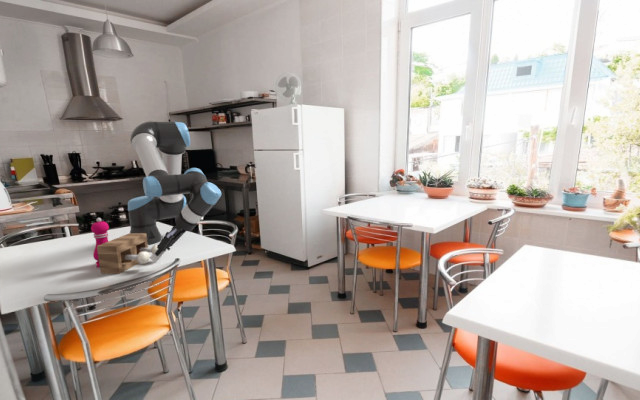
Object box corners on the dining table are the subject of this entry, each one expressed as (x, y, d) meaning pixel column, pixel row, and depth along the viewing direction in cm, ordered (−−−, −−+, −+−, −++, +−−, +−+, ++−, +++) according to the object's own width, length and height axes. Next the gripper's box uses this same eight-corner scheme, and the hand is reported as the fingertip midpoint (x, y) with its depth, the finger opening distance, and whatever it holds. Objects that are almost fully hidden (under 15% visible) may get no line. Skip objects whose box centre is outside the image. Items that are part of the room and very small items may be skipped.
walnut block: (132, 257, 143) (129, 233, 141) (149, 257, 142) (146, 233, 140) (100, 273, 125) (96, 246, 123) (119, 273, 124) (116, 246, 122)
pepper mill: (119, 261, 138) (113, 215, 134) (107, 268, 131) (100, 219, 127) (104, 261, 139) (97, 216, 135) (90, 267, 131) (83, 220, 128)
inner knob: (145, 253, 139) (144, 243, 139) (163, 253, 138) (162, 243, 138) (138, 257, 135) (136, 246, 134) (156, 257, 134) (155, 246, 133)
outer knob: (131, 260, 130) (129, 249, 130) (150, 260, 130) (148, 249, 129) (123, 264, 126) (121, 253, 125) (142, 265, 125) (141, 253, 124)
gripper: (188, 228, 116) (150, 272, 120) (204, 220, 128) (169, 260, 133) (172, 214, 115) (135, 258, 120) (190, 207, 128) (156, 247, 133)
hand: (153, 259), depth 126 cm, fingers closed
